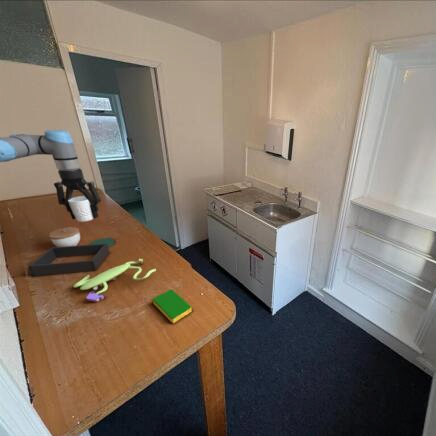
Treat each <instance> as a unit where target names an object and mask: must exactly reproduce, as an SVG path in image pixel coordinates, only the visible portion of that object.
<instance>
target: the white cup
mask: <svg viewBox="0 0 436 436" xmlns="http://www.w3.org/2000/svg"><path fill="white" fill-rule="evenodd" d="M68 202H69V205H70V207H71V209H72V212H73V214H74V215H75V221H77V222H81V223H83V222H90V221H92V220H94V219H95V218H94V217H93V214H92V211H91V208H90V205H91V203H90V202H89V201H88V200H87V198H86V197H85V196H84V195H77V196H74V197H73V196H72V198H71V199H70V200H68Z"/></svg>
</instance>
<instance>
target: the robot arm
mask: <svg viewBox="0 0 436 436" xmlns="http://www.w3.org/2000/svg"><path fill="white" fill-rule="evenodd" d="M43 133H44V134H43V135H42V134H41V135H40V134H25V133H20V134H19V133H15V134H11V135H9V136H5V137H4V136H3V137H0V163H7V162H10V161H13V160H17V159H21V158H26V157H30V156H31V157H32V156H36V155H37V156H38V155H48V156H52V159H53V161H54V164H55V167H56V169H57V170H58V171H57V173H58V175H59V178H60V179H61V181H56V182H54V183H53V185H54V186H53V187H54V188H55V191H56V196H57V202H58V205H63V206H65V210H66V211H67V213H69V214H70V216H71V219H72V220H76V218H75V215H74V214H73V212H72V209H71V207H70V205H69V202H68V200H70V199H71V198H73V193H74V191H79V193H81V194H82V196H85V197H86V198H87V200H88V201H89V202H90V203H91V205H90V208H91V211H92V214H93V217H94V219H97V218H98V217H99V213H98V211H99V206H98V204H100V203H101V202H102V199H101V197H100V195H99V194H98V191H97V189H96V187H95V182H94V181H92V180H91V181H87V180H85V177H84V173H83V170H82V168H81V164H80V160H79V157H78V155H77V151H76V148H75V145H74V140H73V139H72V135H71V132H69V131H67V130H63V129H62V130H61V129H60V130H59V129H57V130H56V129H51V130H48V129H47V130H45V131H44V132H43ZM64 187H65V191H64Z"/></svg>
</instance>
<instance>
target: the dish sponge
mask: <svg viewBox="0 0 436 436" xmlns="http://www.w3.org/2000/svg"><path fill="white" fill-rule="evenodd" d="M152 303H153V305H154V306H155V307H156V308H157V309H158V310H159V311H160V312H161V313H162V315H164V317H166V319H168V320H169V322H170V323H171V324H175V323H177V322H178V321H179V320H182V318H184V317H186V316H188V314H190V313H192V306H191V304H189V303H188V302H187V301H186V300H185V299H184V298H182V296H181V295H179V294H178V293H177V292H176V291H174V290H173V289H168V290H167V291H165V292H163V293H161V294H159V295H157V296H155V297H153V298H152Z"/></svg>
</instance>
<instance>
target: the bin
mask: <svg viewBox="0 0 436 436" xmlns="http://www.w3.org/2000/svg"><path fill="white" fill-rule="evenodd" d="M110 253H111V252H110V248H109V247H108V245H107V244H94V245H88V244H83V245H76V246H66V247H57V246H54V247H53V246H52V247H49V249H48V250H46V251H45V252H44V253H43V254H42V255H40V256H39V257H38V258H36V260H34V261H33V262H32V263H30V264H29V265H27V268H28V269H29V272H30V274H31V275H32V277H43V276H53V275H64V274H74V273H75V274H76V273H84V272H94V271H97V270H98V268H99V266H101V264H102V263H103V262H104V260H105V259H106V258H107V257H108V255H109V254H110ZM91 255H94V256H93V257H92V258H91V259H90V260H88V259H87V260H76V261H68V262H67V261H66V262H55V263H52V262H53V261H54V260H55V259H56V258H67V257H80V256H91Z"/></svg>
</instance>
